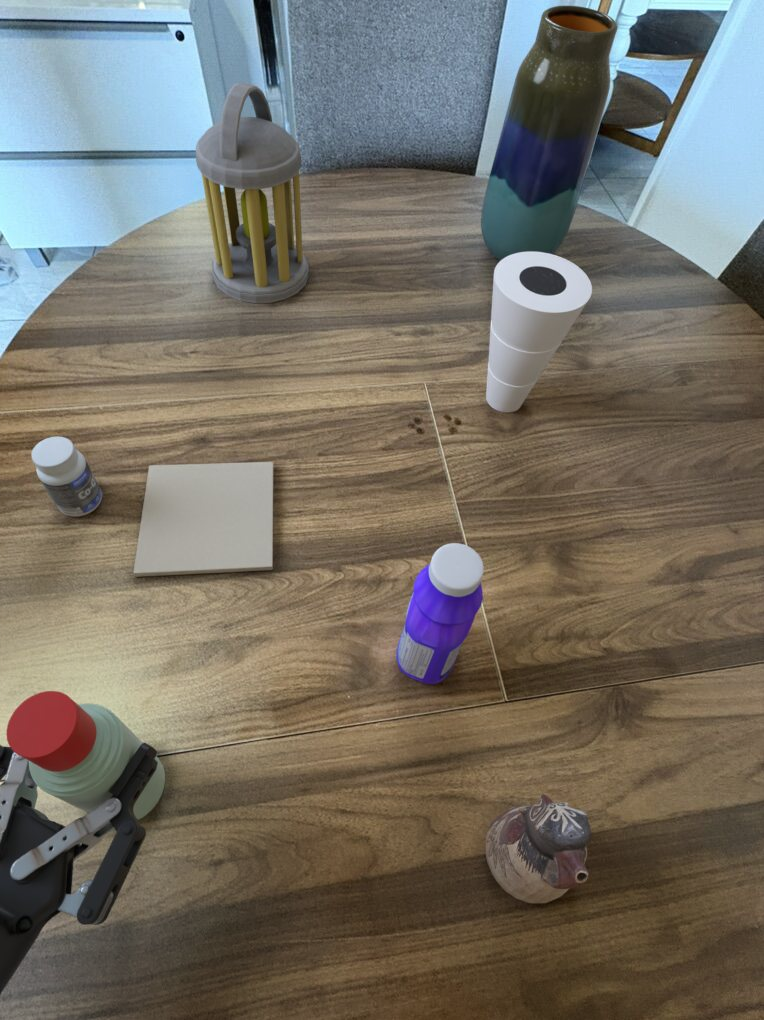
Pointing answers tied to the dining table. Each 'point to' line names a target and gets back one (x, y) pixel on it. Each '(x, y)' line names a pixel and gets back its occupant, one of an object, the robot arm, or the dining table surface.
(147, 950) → the dining table surface
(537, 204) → the vase
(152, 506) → the coaster
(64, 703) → the cap
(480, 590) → the bottle
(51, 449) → the pill bottle
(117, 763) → the water bottle
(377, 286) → the dining table surface
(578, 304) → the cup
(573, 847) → the figurine
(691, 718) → the dining table surface
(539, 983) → the dining table surface
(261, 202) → the lantern
